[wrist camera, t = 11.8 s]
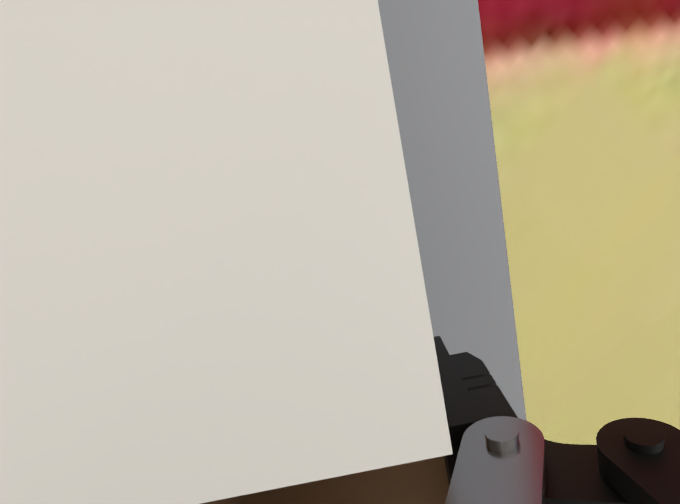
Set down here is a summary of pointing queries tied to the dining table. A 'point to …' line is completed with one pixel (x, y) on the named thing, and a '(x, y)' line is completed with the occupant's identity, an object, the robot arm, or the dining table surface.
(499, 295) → the dock
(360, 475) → the brown slotted rack
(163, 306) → the white cube
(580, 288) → the dining table surface
